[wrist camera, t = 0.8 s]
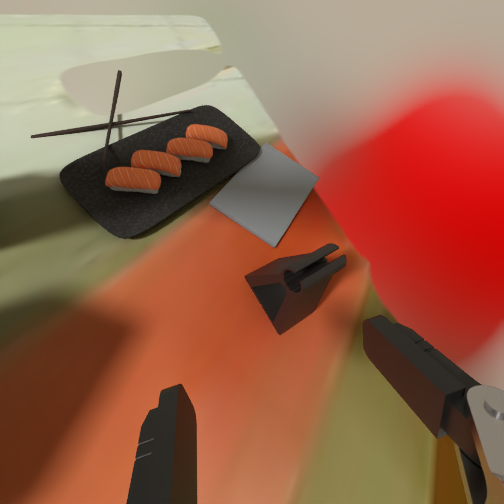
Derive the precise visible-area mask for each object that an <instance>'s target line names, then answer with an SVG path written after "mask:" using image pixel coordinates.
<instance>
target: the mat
mask: <svg viewBox="0 0 504 504" xmlns="http://www.w3.org/2000/svg"><path fill="white" fill-rule="evenodd" d="M318 179H319V177H318V176H316V175H314V174H313V173H311V172H310V171H308V170H307V169H305V168H304V167H302V166H301V165H299V164H298V163H296V162H295V161H293V160H292V159H290V158H289V157H287V156H286V155H284V154H283V153H281V152H279V151H278V150H276V149H275V148H273V147H272V146H270V145H269V144H267V143H265V144H264V145H263V146H262V147H261V148H260V151H259V153H258V155H257V156H256V157H255V158H254V159H253V160H252V161H251V162H249V163H248V164H246V165H245V166H244V167H242V168H241V169H240V170H239V171H238V172H237V174H236V175H235V176H234V177H233V178H232V179H231V180H230V181H229V182H228V183H227V184H226V185H225V186H224V187H223V188H222V189H221V191H220V192H219V193H218V194H217V195H216V196H215V197H214V198H213V199H212V200H211V201H210V202H209V205H211V206H212V207H214V208H215V209H217V210H218V211H220V212H221V213H223V214H224V215H226V216H227V217H229V218H230V219H232V220H233V221H235V222H236V223H238V224H239V225H241V226H242V227H244V228H245V229H247V230H248V231H250V232H251V233H253V234H254V235H256V236H257V237H259V238H260V239H262V240H263V241H265V242H266V243H268V244H269V245H271V246H272V247H274V248H275V246H276V245H277V243H278V242H279V240H280V238H281V237H282V235H283V234H284V232H285V231H286V229H287V228H288V226H289V224H290V223H291V221H292V220H293V218H294V217H295V215H296V214H297V212H298V210H299V209H300V207H301V206H302V204H303V203H304V201H305V199H306V198H307V196H308V195H309V193H310V192H311V190H312V189H313V187H314V185H315V184H316V182H317V181H318Z"/></svg>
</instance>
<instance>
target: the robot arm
mask: <svg viewBox="0 0 504 504" xmlns="http://www.w3.org/2000/svg"><path fill="white" fill-rule="evenodd" d="M363 346H364V350H365V352H366V355H367V356H368V358H369V359H370V361H371V362H372V363H373V364H374V365H375V367H376V368H377V369H378V370H379V371H380V372H381V374H382V375H383V376H384V377H385V378H386V379H387V381H388V382H389V383H390V384H391V385H392V387H393V388H394V389H395V390H396V391H397V392H398V394H399V395H400V396H401V397H402V398H403V399H404V401H405V402H406V403H407V404H408V405H409V407H410V408H411V409H412V410H413V411H414V412H415V414H416V415H417V416H418V417H419V418H420V419H421V421H422V422H423V423H424V424H425V425H426V427H427V428H428V429H429V430H430V431H431V432H432V434H433V435H434V436H435V437H436V438H437V439H438V438H441V437H443V436H445V435H449V436H450V438H451V439H452V440H453V441H454V442H455V451H456V455H457V459H458V463H459V468H460V472H461V476H462V480H463V485H464V489H465V493H466V497H467V501H468V504H504V391H503V390H500V389H498V388H495V387H491V386H485V385H481V384H480V383H478V382H477V381H475V380H474V379H473V378H471V377H470V376H469V375H468V374H466V373H465V372H464V371H463V370H461V369H460V368H459V367H458V366H456V365H455V364H454V363H453V362H452V361H450V360H449V359H448V358H447V357H446V356H444V355H443V354H442V353H441V352H439V351H438V350H437V349H434V347H433V346H432V345H431V344H429V343H428V342H427V341H424V339H423V338H422V337H421V336H420V335H418V334H417V333H416V332H415V331H413V330H412V329H409V328H408V327H406V326H403V325H401V324H399V323H396V324H392V323H391V322H390V321H389V320H388V319H386V318H385V317H384V316H382V315H378V316H376V317H373V318H370V319H367V320H364V321H363ZM138 444H139V446H138V447H137V452H136V457H135V458H136V461H135V463H134V468H133V473H132V478H131V483H130V488H129V494H128V499H127V504H197V423H196V414H195V410H194V407H193V405H192V403H191V401H190V399H189V397H188V395H187V393H186V391H185V389H184V387H183V385H182V384H178V385H175V386H172V387H169V388H166V389H164V390H162V391H161V393H160V397H159V404H158V408H155V409H152V410H150V411H149V413H148V415H147V417H146V419H145V421H144V422H143V424H142V426H141V432H140V437H139V442H138Z"/></svg>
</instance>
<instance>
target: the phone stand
mask: <svg viewBox="0 0 504 504" xmlns="http://www.w3.org/2000/svg"><path fill="white" fill-rule="evenodd" d="M338 249H339V246H337V245H335V244H332V243H330V244H327V245H325V246H323V247H321V248H319V249H318V250H316V251H314V252H312V253H308V254H302V255H296V256H290V257H284V258H278V259H276V260H274V261H273V262H271V263H269V264H267V265H265V266H263V267H261V268H259V269H257V270H255V271H253V272H251V273H250V274H248V275H246V276H245V279H246V281H247V282H248V284H249V286H250V287H251V289H252V291H253V292H254V294H255V296H256V297H257V299H258V301H259V302H260V304H261V305H262V307H263V309H264V311H265V312H266V314H267V316H268V317H269V319H270V321H271V322H272V324H273V326H274V327H275V329H276V331H277V332H278V334H279V335H281V334H282V333H284V332H285V331H287V330H288V329H290V328H291V327H293V326H294V325H295V324H297V323H298V322H300V321H301V320H303V319H304V318H306V317H307V316H308V315H310V314H311V313H313V312H314V310H315V308H316V306H317V304H318V302H319V301H320V299H321V297H322V295H323V293H324V291H325V289H326V287H327V285H328V283H329V281H330V279H331V278H332V276H333V274H335V273H336V272H338V271H339V270H341V269H343V268H344V267H345V265H346V256H345V255H342V256H340V257H339V258H337V259H335V260H334V261H332V262H330V263H329V262H327V259H326V258H325V256H327V255H329V254H331V253H332V252H334V251H336V250H338Z"/></svg>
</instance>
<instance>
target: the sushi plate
mask: <svg viewBox="0 0 504 504" xmlns="http://www.w3.org/2000/svg"><path fill="white" fill-rule="evenodd" d="M121 77H122V72H121V71H120V70H118V73H117V79H116V85H115V91H114V97H113V103H112V109H111V115H110V121H109V123H106V124H99V125H93V126H86V127H80V128H73V129H67V130H61V131H55V132H49V133H43V134H37V135H32V136H31V138H39V137H47V136H56V135H64V134H72V133H80V132H87V131H92V130H97V129H102V128H107V127H108V132H107V138H106V144H105V147H103V148H101V149H99V150H97V151H94V152H92V153H90V154H88V155H85V156H83V157H81V158H79V159H77V160H75V161H73V162H72V163H70V164H68V165H67V166H66V167H64V168H63V169H62V171H61V172H60V180H61V182H62V184H63V186H64V187H65V188H66V190H67V191H68V192H69V193H70V194H71V195H72V197H73V198H74V199H75V200H76V201H77V202H78V203H79V204H80V205H81V206H82V207H83V208H84V209H85V210H86V211H87V212H88V213H89V214H90V215H91V216H92V217H93V218H94V219H95V220H96V221H97V222H98V223H99V224H100V225H101V226H102V227H103V228H105V229H106V230H107V231H108V232H110V233H111V234H113V235H115V236H117V237H119V238H123V239H127V238H132V237H135V236H138V235H140V234H142V233H144V232H146V231H148V230H149V229H151V228H153V227H154V226H156V225H157V224H159V223H160V222H162V221H163V220H165V219H166V218H168V217H169V216H171V215H172V214H174V213H175V212H177V211H178V210H180V209H181V208H183V207H184V206H186V205H187V204H189V203H190V202H192V201H193V200H195V199H196V198H198V197H199V196H201V195H202V194H204V193H205V192H207V191H208V190H210V189H211V188H212V187H214V186H215V185H217V184H218V183H220V182H221V181H223V180H224V179H226V178H227V177H229V176H230V175H232V174H233V173H235V172H236V171H238V170H239V169H241V168H242V167H244V166H245V165H246V164H248V163H249V162H251V161H252V160H253V159H254V158H255V157H256V156H257V155H258V153H259V151H260V148H259V146H258V144H257V143H256V141H255V140H254V139H253V138H252V137H251V136H250V135H248V134H247V133H246V132H245V131H244V130H243V129H242V128H241V127H239V126H238V125H237V124H236V123H235V122H234V121H232V120H231V119H230V118H229V117H228V116H226V115H225V114H224V113H223V112H221V111H220V110H218V109H217V108H215V107H213V106H210V105H204V106H199V107H196V108H193V109H191V110H184V111H178V112H172V113H166V114H161V115H155V116H149V117H143V118H137V119H131V120H125V121H118V122H113V118H114V113H115V107H116V103H117V98H118V93H119V88H120V83H121ZM176 114H179V115H177V116H174V117H172V118H170V119H167V120H165V121H163V122H161V123H158V124H156V125H154V126H151V127H149V128H147V129H145V130H142V131H140V132H138V133H135V134H133V135H131V136H129V137H126V138H124V139H122V140H119V141H117V142H115V143H113V144H110V145H108V144H109V139H110V134H111V128H112V126H117V125H122V124H127V123H132V122H138V121H143V120H149V119H154V118H159V117H165V116H170V115H176Z"/></svg>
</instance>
